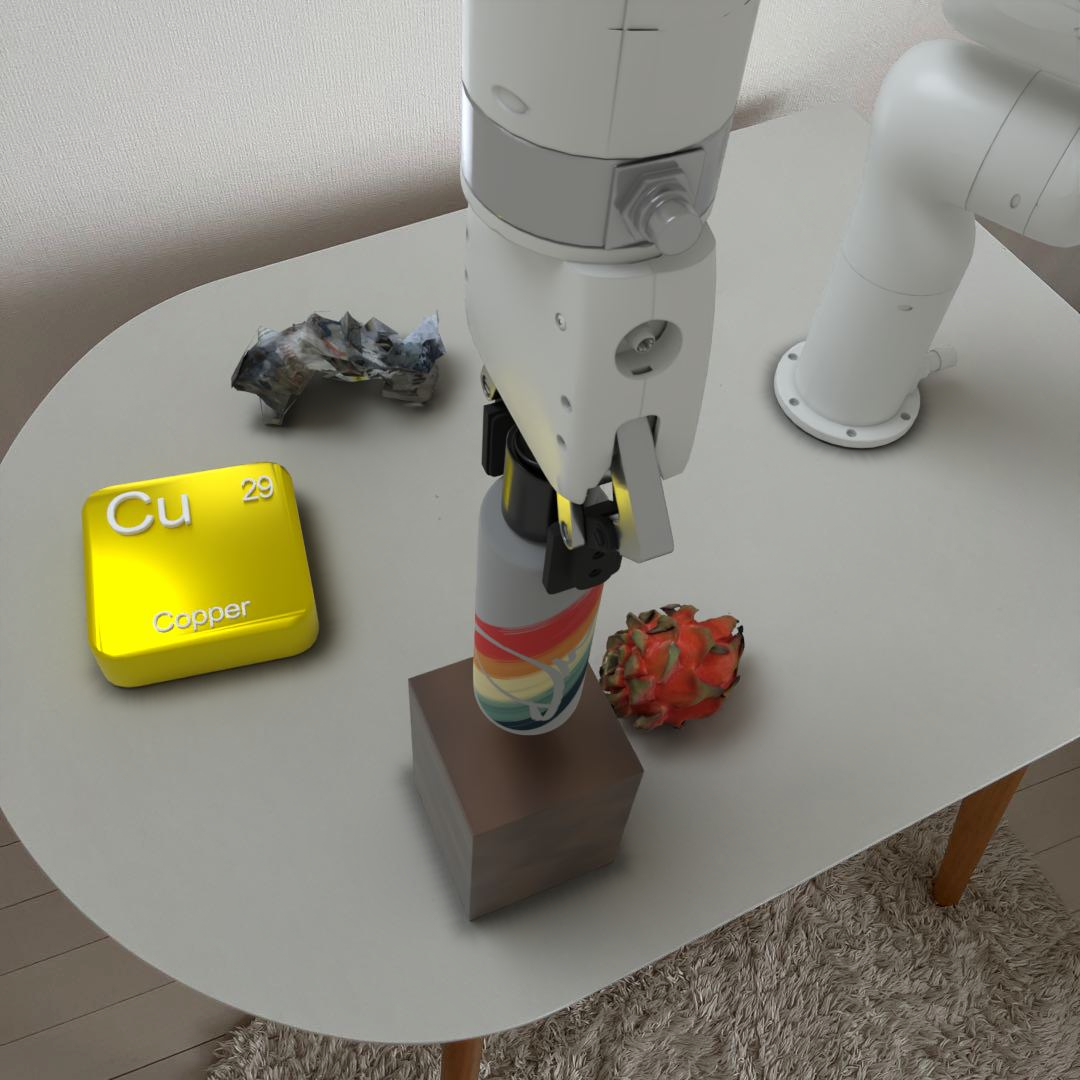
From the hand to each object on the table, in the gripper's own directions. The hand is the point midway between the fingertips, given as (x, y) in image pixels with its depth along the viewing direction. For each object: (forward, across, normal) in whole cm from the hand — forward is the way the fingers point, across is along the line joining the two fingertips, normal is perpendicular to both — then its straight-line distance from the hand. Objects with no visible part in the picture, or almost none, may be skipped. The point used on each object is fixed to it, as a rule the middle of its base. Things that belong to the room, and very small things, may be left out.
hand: (548, 516), depth 46 cm
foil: (+33, +40, -2) cm, 52 cm away
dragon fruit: (+33, +5, -14) cm, 36 cm away
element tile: (+33, +25, +14) cm, 44 cm away
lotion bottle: (+15, 0, 0) cm, 15 cm away
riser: (+33, 0, 0) cm, 33 cm away
